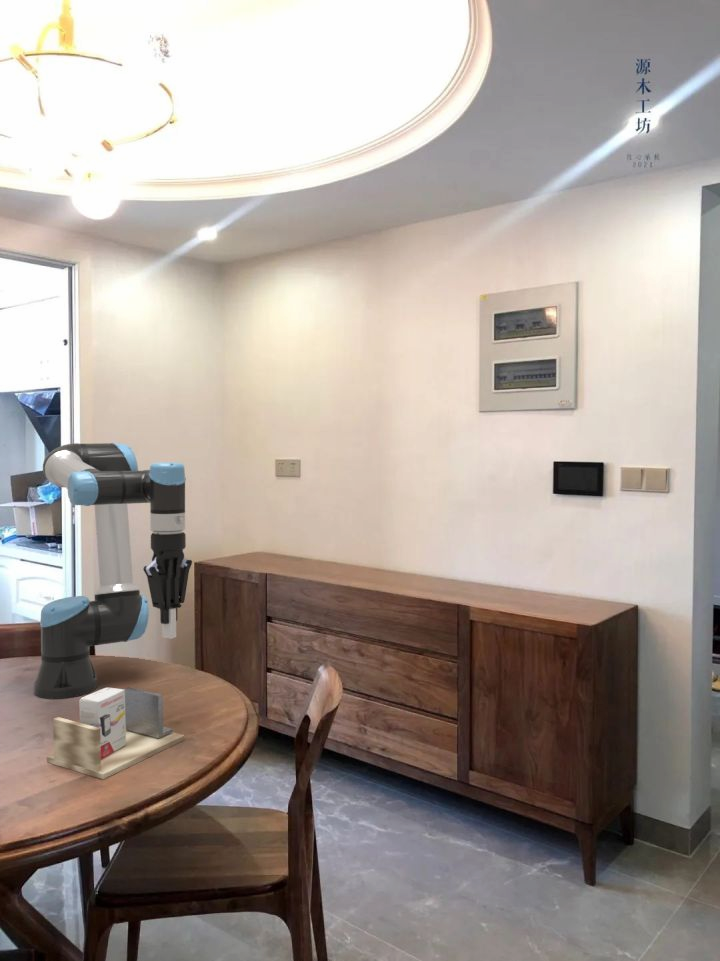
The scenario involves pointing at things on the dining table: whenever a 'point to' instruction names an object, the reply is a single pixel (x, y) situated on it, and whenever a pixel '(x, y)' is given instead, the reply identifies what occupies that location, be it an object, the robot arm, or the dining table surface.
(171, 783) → the dining table surface
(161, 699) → the bookend
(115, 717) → the ink box
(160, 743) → the rack
